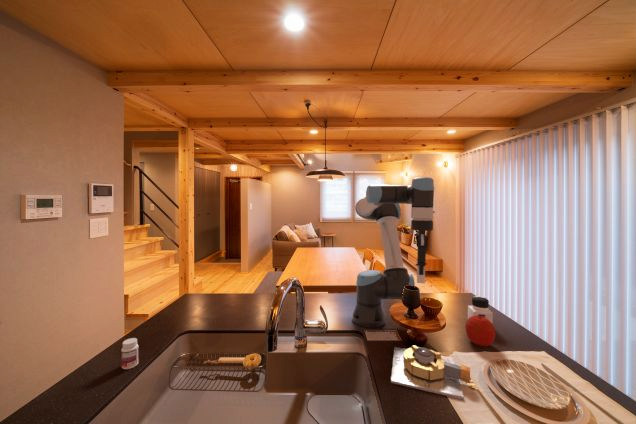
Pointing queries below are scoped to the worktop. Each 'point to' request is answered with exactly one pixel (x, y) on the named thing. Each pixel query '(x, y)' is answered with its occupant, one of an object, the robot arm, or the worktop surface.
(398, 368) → the flange plate
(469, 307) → the container
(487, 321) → the apple
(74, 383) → the worktop surface
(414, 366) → the yellow piece
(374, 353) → the worktop surface
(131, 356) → the pill bottle
